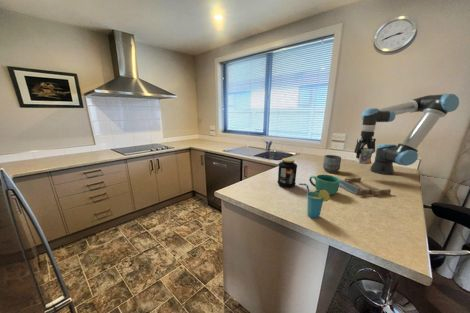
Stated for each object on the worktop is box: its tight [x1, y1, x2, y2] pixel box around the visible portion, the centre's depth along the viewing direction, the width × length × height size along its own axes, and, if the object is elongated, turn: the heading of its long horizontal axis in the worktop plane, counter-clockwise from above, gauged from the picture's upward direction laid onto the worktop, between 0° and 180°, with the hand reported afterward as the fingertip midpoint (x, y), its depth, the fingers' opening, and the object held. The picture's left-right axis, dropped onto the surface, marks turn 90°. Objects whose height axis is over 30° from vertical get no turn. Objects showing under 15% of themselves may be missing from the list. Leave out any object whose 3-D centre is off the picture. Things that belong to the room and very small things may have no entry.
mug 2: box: [359, 147, 374, 165], centre depth 132 cm, size 12×9×11 cm
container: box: [277, 157, 298, 188], centre depth 120 cm, size 12×12×18 cm
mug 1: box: [309, 174, 340, 196], centre depth 111 cm, size 17×13×10 cm
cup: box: [298, 183, 331, 220], centre depth 84 cm, size 14×8×15 cm, turn 54°
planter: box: [322, 154, 342, 174], centre depth 149 cm, size 12×12×13 cm
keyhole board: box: [338, 176, 392, 199], centre depth 116 cm, size 21×21×4 cm
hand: (363, 161), depth 133 cm, fingers closed on mug 2, 8 cm apart
